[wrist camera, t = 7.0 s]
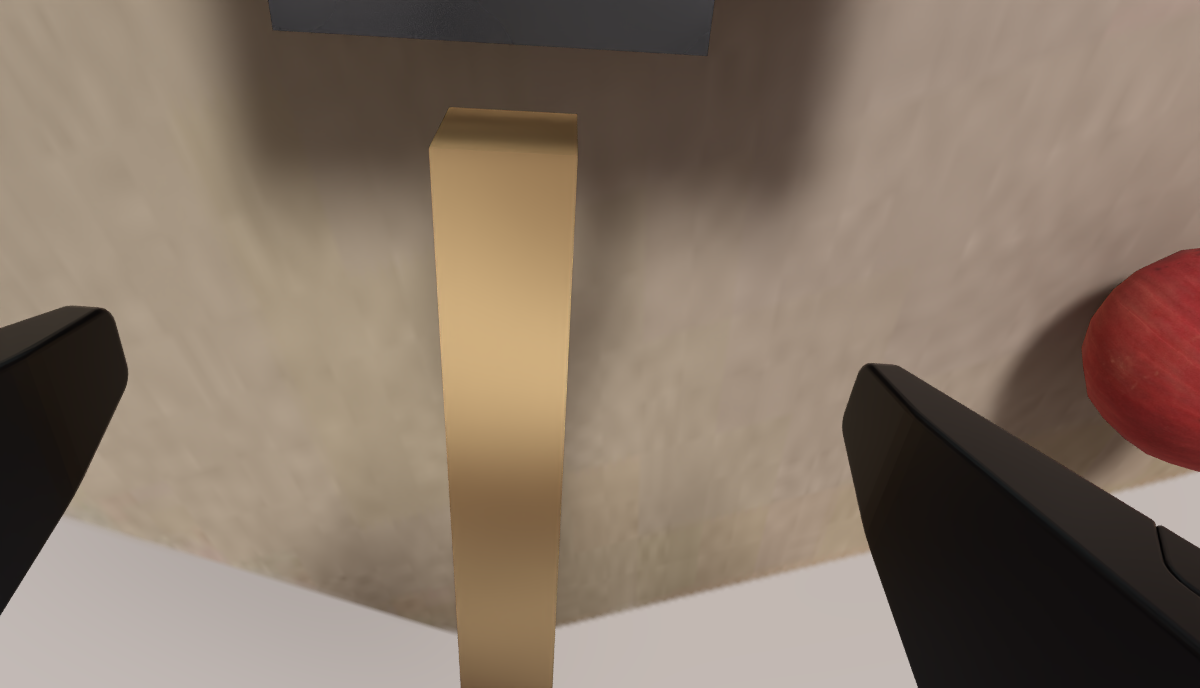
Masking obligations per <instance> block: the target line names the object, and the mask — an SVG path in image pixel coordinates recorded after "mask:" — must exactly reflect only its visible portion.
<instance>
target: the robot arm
mask: <svg viewBox="0 0 1200 688" xmlns="http://www.w3.org/2000/svg"><path fill="white" fill-rule="evenodd" d="M127 381H128V367H127V363H126V359H125V355H124V352H123V348H122V344H121V341H120V337H119V333H118V330H117V326H116V323H115V320H114V317H113V316H112V314H111V313H110V312H109V311H107V310H106V309H104V308H99V307H86V306H65V307H62V308H59V309H56V310H53V311H50V312H47V313H44V314H41V315H38V316H35V317H32V318H29V319H26V320H23V321H20V322H17V323H14V324H11V325H8V326H5V327H2V328H0V615H1V613H2V612H3V610H4V609H5V607H6V606H7V604H8V602H9V601H10V599H11V597H12V596H13V594H14V593H15V591H16V589H17V588H18V586H19V585H20V583H21V581H22V580H23V578H24V576H25V575H26V573H27V572H28V570H29V569H30V567H31V565H32V564H33V562H34V560H35V559H36V557H37V556H38V554H39V552H40V551H41V549H42V548H43V546H44V544H45V543H46V541H47V540H48V538H49V536H50V535H51V533H52V532H53V530H54V528H55V527H56V525H57V524H58V522H59V520H60V519H61V517H62V516H63V514H64V512H65V511H66V509H67V507H68V505H69V504H70V502H71V500H72V499H73V497H74V495H75V493H76V491H77V489H78V488H79V486H80V484H81V482H82V480H83V478H84V476H85V474H86V472H87V469H88V467H89V465H90V463H91V461H92V459H93V457H94V455H95V452H96V450H97V448H98V446H99V444H100V442H101V440H102V438H103V435H104V433H105V431H106V429H107V427H108V425H109V423H110V420H111V418H112V416H113V414H114V412H115V410H116V408H117V406H118V403H119V401H120V399H121V397H122V395H123V393H124V391H125V388H126V385H127ZM842 431H843V437H844V442H845V446H846V451H847V456H848V460H849V465H850V469H851V474H852V478H853V483H854V487H855V492H856V497H857V501H858V506H859V510H860V515H861V519H862V523H863V527H864V531H865V535H866V538H867V541H868V545H869V548H870V551H871V554H872V557H873V559H874V562H875V565H876V568H877V571H878V574H879V577H880V579H881V583H882V585H883V588H884V591H885V594H886V597H887V600H888V603H889V606H890V609H891V611H892V614H893V617H894V620H895V623H896V626H897V628H898V631H899V634H900V637H901V640H902V643H903V646H904V648H905V652H906V654H907V657H908V660H909V663H910V666H911V669H912V672H913V674H914V678H915V680H916V683H917V686H918V688H1200V548H1198V547H1197V546H1195V545H1193V544H1192V543H1190V542H1188V541H1187V540H1185V539H1183V538H1181V537H1180V536H1178V535H1177V534H1175V533H1173V532H1172V531H1170V530H1169V529H1167V528H1165V527H1164V526H1156V524H1155V522H1154V521H1153V520H1152V519H1150V518H1148V517H1147V516H1145V515H1144V514H1142V513H1140V512H1139V511H1137V510H1135V509H1134V508H1132V507H1130V506H1129V505H1127V504H1125V503H1124V502H1122V501H1120V500H1119V499H1117V498H1115V497H1114V496H1112V495H1111V494H1109V493H1107V492H1106V491H1104V490H1102V489H1101V488H1099V487H1097V486H1096V485H1094V484H1093V483H1091V482H1089V481H1088V480H1086V479H1084V478H1083V477H1081V476H1079V475H1078V474H1076V473H1074V472H1073V471H1071V470H1069V469H1068V468H1066V467H1065V466H1063V465H1061V464H1060V463H1058V462H1056V461H1055V460H1053V459H1051V458H1050V457H1048V456H1046V455H1045V454H1043V453H1041V452H1040V451H1038V450H1037V449H1035V448H1033V447H1032V446H1030V445H1028V444H1027V443H1025V442H1023V441H1022V440H1020V439H1018V438H1017V437H1015V436H1013V435H1012V434H1010V433H1009V432H1007V431H1005V430H1004V429H1002V428H1000V427H999V426H997V425H995V424H994V423H992V422H990V421H989V420H987V419H985V418H984V417H982V416H981V415H979V414H977V413H976V412H974V411H972V410H971V409H969V408H967V407H966V406H964V405H962V404H961V403H959V402H957V401H956V400H954V399H953V398H951V397H949V396H948V395H946V394H944V393H943V392H941V391H939V390H938V389H936V388H934V387H933V386H931V385H929V384H928V383H926V382H925V381H923V380H921V379H920V378H918V377H916V376H915V375H913V374H911V373H910V372H908V371H906V370H905V369H903V368H901V367H900V366H897V365H892V364H877V363H867V364H866V365H864V366H863V367H862V368H861V369H860V371H859V373H858V375H857V378H856V381H855V384H854V386H853V389H852V392H851V395H850V398H849V401H848V404H847V407H846V409H845V412H844V416H843V422H842Z"/></svg>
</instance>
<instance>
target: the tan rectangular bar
mask: <svg viewBox="0 0 1200 688" xmlns="http://www.w3.org/2000/svg"><path fill="white" fill-rule="evenodd" d="M429 161H430V178H431V194H432V211H433V228H434V245H435V261H436V278H437V295H438V312H439V329H440V345H441V362H442V379H443V396H444V412H445V429H446V446H447V463H448V480H449V496H450V513H451V530H452V547H453V563H454V580H455V597H456V614H457V631H458V647H459V664H460V681H461V688H552V684H553V663H554V643H555V622H556V601H557V580H558V559H559V538H560V518H561V497H562V476H563V455H564V434H565V413H566V392H567V371H568V350H569V329H570V308H571V287H572V266H573V245H574V225H575V204H576V183H577V162H578V139H577V114H566V113H547V112H529V111H510V110H492V109H473V108H455V107H449V109H448V111H447V113H446V115H445V117H444V119H443V121H442V123H441V125H440V127H439V129H438V131H437V133H436V135H435V137H434V139H433V141H432V143H431V145H430V147H429Z"/></svg>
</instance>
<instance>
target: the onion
mask: <svg viewBox="0 0 1200 688" xmlns="http://www.w3.org/2000/svg"><path fill="white" fill-rule="evenodd" d="M1082 358H1083V369H1084V375H1085V381H1086V387H1087V394H1088V397H1089V399H1090V400H1091V402H1092V403H1093V404H1094V406H1095V407H1096V409H1097V410H1098V411H1099V413H1100V414H1101V416H1102V417H1103V418H1104V419H1105V420H1106V421H1107V422H1108V423H1109V424H1110V425H1111V426H1112V427H1113V428H1114V429H1115V430H1116V431H1117V432H1118V433H1119V434H1120V435H1121V436H1122V437H1124V438H1125V439H1126V440H1127V441H1129V442H1130V443H1132V444H1133V445H1135V446H1136V447H1137V448H1139V449H1140V450H1142V451H1143V452H1145V453H1146V454H1148V455H1151V456H1153V457H1156V458H1158V459H1160V460H1163V461H1165V462H1168V463H1171V464H1174V465H1178V466H1181V467H1184V468H1188V469H1191V470H1194V471H1198V472H1200V248H1197V249H1189V250H1181V251H1179V252H1176V253H1174V254H1172V255H1170V256H1168V257H1165V258H1163V259H1161V260H1159V261H1157V262H1154V263H1152V264H1150V265H1148V266H1146V267H1144V268H1142V269H1140V270H1138V271H1136V272H1135V273H1133V274H1132V275H1131V276H1130V277H1128V278H1127V279H1126V280H1125V281H1123V282H1122V283H1121V284H1119V285H1118V286H1117V287H1116V288H1114V289H1113V290H1112V292H1111V293H1110V294H1109V296H1108V297H1107V298H1106V299H1105V301H1104V302H1103V303H1102V305H1101V306H1100V307H1099V308H1098V310H1097V311H1096V313H1095V314H1094V315H1093V317H1092V318H1091V320H1090V323H1089V326H1088V329H1087V332H1086V336H1085V339H1084V342H1083V345H1082Z"/></svg>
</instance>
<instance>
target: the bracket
mask: <svg viewBox="0 0 1200 688" xmlns="http://www.w3.org/2000/svg"><path fill="white" fill-rule="evenodd" d="M714 1H715V0H268V2H269V9H270V15H271V21H272V28H273V30H279V31H296V32H312V33H329V34H346V35H363V36H380V37H397V38H414V39H431V40H447V41H464V42H481V43H498V44H515V45H532V46H549V47H566V48H582V49H599V50H616V51H633V52H650V53H667V54H684V55H701V56H707V54H708V46H709V39H710V31H711V24H712V16H713V8H714Z"/></svg>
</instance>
